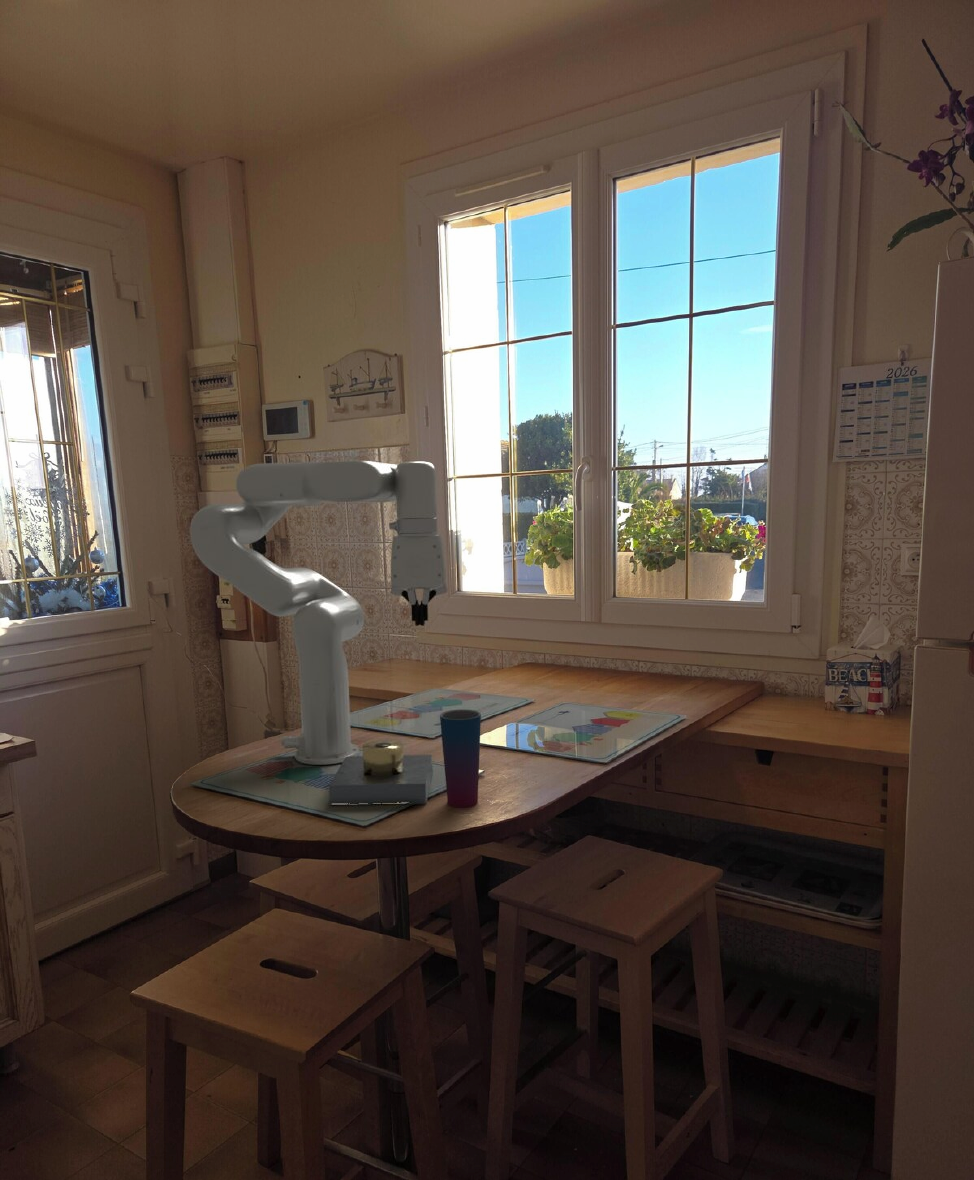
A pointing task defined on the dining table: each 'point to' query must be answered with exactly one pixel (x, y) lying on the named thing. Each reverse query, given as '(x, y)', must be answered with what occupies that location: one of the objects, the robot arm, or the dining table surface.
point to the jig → (382, 782)
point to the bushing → (383, 757)
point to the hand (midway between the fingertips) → (420, 624)
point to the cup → (461, 755)
